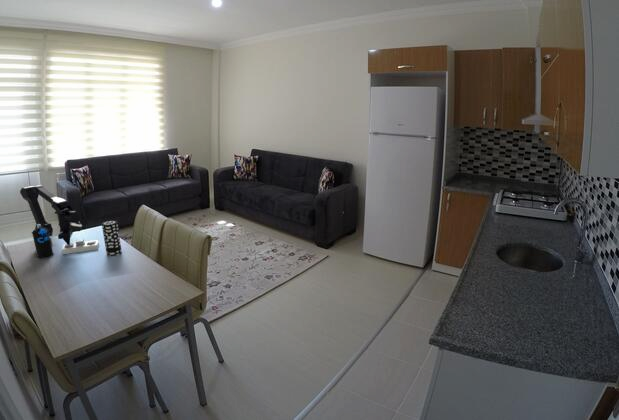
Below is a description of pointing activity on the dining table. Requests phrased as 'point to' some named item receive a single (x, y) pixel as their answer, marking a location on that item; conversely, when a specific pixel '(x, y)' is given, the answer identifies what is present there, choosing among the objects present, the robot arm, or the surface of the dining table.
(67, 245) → the key near
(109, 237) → the spotted tube
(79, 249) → the keypad
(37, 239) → the aerosol can
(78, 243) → the key middle
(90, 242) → the key far
